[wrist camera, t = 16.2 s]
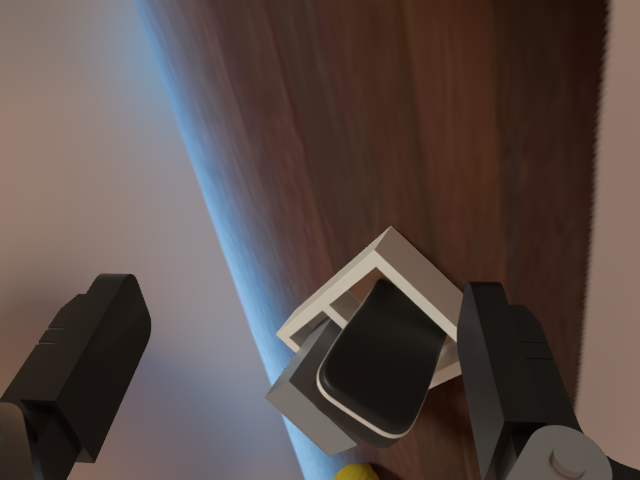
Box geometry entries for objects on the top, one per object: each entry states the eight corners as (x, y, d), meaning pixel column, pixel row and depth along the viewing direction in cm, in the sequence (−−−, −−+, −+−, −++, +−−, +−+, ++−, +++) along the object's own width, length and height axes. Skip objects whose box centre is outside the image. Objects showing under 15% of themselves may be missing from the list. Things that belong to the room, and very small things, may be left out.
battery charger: (361, 302, 41) (294, 406, 33) (378, 272, 38) (310, 377, 30) (436, 348, 40) (386, 468, 31) (458, 320, 37) (410, 443, 29)
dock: (294, 310, 47) (234, 386, 40) (391, 225, 37) (334, 306, 30) (380, 390, 48) (336, 479, 40) (499, 328, 37) (469, 433, 30)
